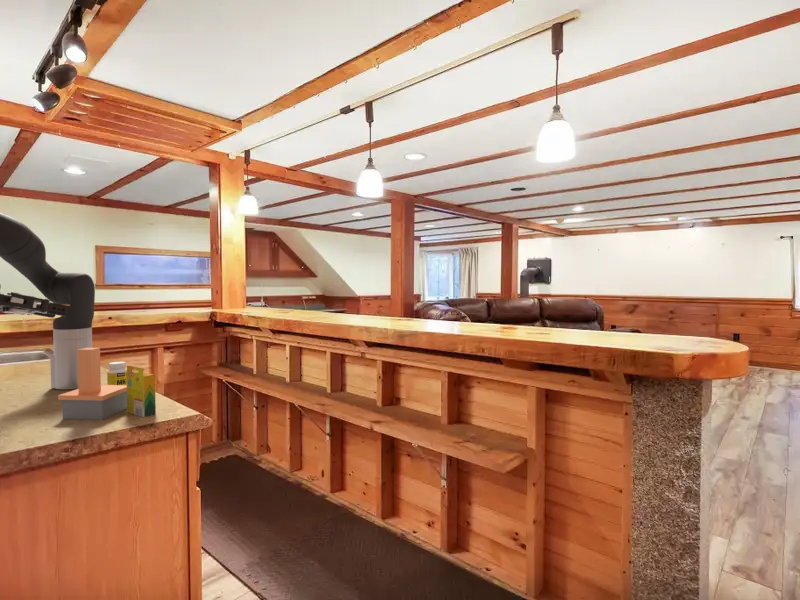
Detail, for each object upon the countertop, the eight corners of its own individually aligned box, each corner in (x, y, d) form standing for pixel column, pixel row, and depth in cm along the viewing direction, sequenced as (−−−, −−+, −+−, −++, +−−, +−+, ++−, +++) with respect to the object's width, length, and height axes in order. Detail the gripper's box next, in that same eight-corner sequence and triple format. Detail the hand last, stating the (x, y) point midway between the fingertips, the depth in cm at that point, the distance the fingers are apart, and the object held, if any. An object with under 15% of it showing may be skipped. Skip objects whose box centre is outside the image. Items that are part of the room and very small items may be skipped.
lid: (58, 399, 100) (56, 350, 100) (90, 388, 110) (89, 343, 110) (102, 400, 100) (101, 351, 99) (130, 389, 110) (129, 344, 109)
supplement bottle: (117, 395, 124) (117, 364, 123) (103, 394, 124) (102, 363, 124) (131, 390, 128) (131, 361, 128) (117, 390, 129) (116, 360, 129)
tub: (62, 421, 101) (62, 399, 101) (91, 409, 110) (91, 389, 110) (102, 422, 100) (101, 399, 100) (127, 410, 109) (127, 390, 109)
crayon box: (156, 416, 105) (155, 366, 105) (143, 419, 103) (142, 368, 102) (139, 411, 109) (138, 363, 108) (126, 414, 107) (125, 365, 106)
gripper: (-23, 271, 81) (79, 293, 94) (-41, 277, 90) (55, 297, 102) (-36, 311, 80) (70, 329, 92) (-53, 314, 88) (46, 330, 101)
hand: (62, 312), depth 97 cm, fingers open, 8 cm apart
